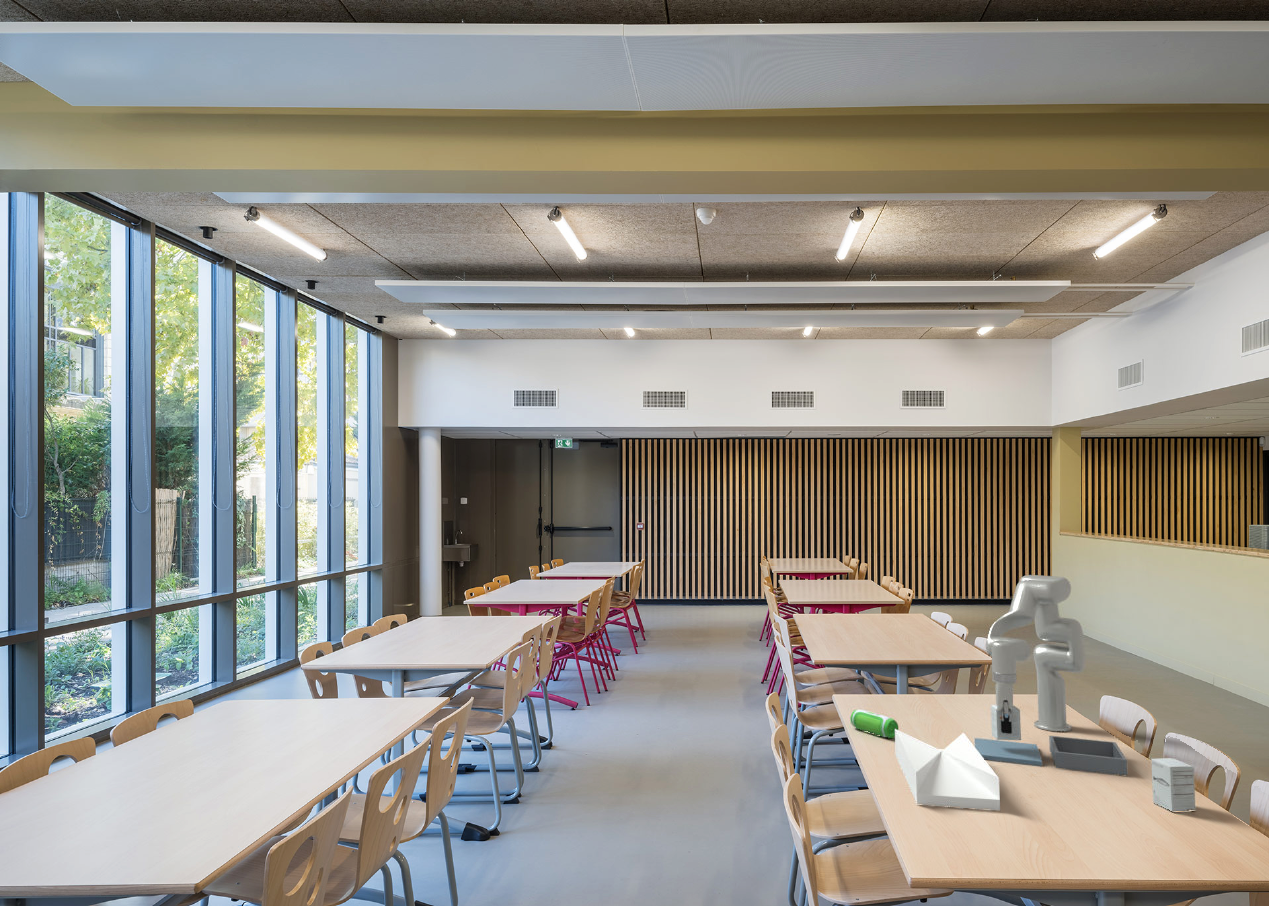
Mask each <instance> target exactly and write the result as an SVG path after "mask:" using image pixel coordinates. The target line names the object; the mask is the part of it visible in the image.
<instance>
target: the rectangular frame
mask: <svg viewBox="0 0 1269 906" xmlns="http://www.w3.org/2000/svg"><path fill="white" fill-rule="evenodd" d="M1048 739H1049V740H1048V741H1049V752H1051V753H1050V755H1051V759H1052V760H1053V763H1054V766H1055V768H1056V769H1062V770H1063V769H1064V770H1071V771H1078V772H1079V771H1081V772H1089V773H1096V772H1097V773H1098V774H1106V775H1114V774H1119V775H1118V776H1122V775H1129V773H1128V759H1127V758H1126V755H1124V753H1123V752H1122V749H1120V747H1119V745H1118V743H1117V742H1116V741H1106V740H1098V739H1097V740H1096V739H1087V738H1077V737H1076V738H1075V737H1069V736H1068V737H1067V736H1057V735H1048Z"/></svg>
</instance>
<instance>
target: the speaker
mask: <svg viewBox="0 0 1269 906" xmlns="http://www.w3.org/2000/svg"><path fill="white" fill-rule="evenodd" d="M850 724H851V725H852V727H853V728H855V729H858V730H859V729H860V730H859V731H861V730H864V731H868V732H870V733H874V734H876V735H880V736H882V737H881V738H885V737H888V738H887V739H895V729H897V730H899V724H898V722H897V721H896V720H895V719H894V718H892V717H889V716H886V715H883V714H879V713H876V712H873V711H868V710H866V709H855V710H853V711H852V713H851V714H850ZM876 735H875V736H876Z"/></svg>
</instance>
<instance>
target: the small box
mask: <svg viewBox="0 0 1269 906" xmlns="http://www.w3.org/2000/svg"><path fill="white" fill-rule="evenodd" d="M1003 711H1004V710H1003ZM1010 711H1011V709H1010ZM1001 712H1002V710H1001V711H999V712H998V711H997V707H996V704H991V705H990V716H991V720H990V721H991V723H990V724H991V736H992V737H994V738H995V740H999V741H1007V740H1008V741H1022V729H1021V728H1022V727H1021V709H1020V708H1018V707H1016V706H1015V705H1014V704H1013V712H1012V713H1011V714H1010V715H1011V722H1012V733H1011V734H1009V733H1002V732H1001V720H1002V713H1001ZM1008 712H1009V711H1008ZM1003 715H1004V714H1003Z"/></svg>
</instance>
